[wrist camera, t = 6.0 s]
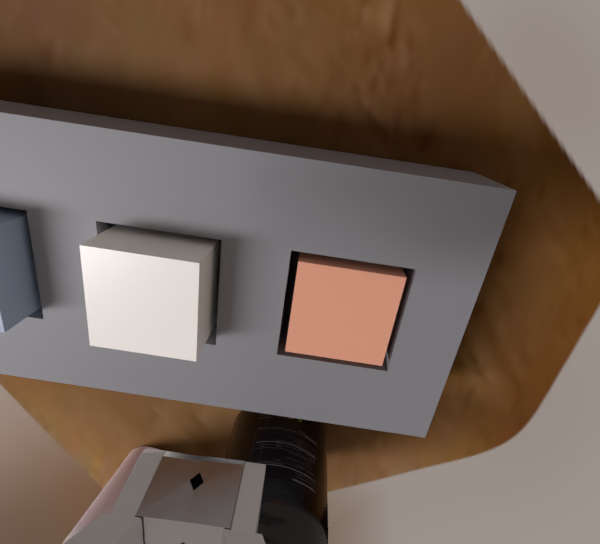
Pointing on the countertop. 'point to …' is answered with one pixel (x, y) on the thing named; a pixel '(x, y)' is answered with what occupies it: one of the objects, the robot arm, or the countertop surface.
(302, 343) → the terracotta key
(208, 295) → the white key
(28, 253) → the slate blue key
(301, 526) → the supplement bottle
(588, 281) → the countertop surface
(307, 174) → the key panel
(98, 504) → the smoothie
